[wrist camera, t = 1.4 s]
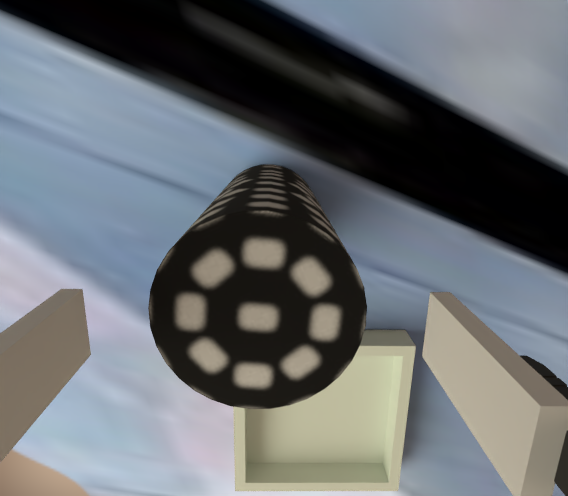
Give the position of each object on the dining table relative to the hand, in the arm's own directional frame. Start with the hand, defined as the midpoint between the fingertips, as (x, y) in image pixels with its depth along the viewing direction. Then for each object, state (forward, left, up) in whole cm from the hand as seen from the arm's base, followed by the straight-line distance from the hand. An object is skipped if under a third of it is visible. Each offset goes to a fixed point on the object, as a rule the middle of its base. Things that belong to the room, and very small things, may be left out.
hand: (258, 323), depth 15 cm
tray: (+19, +5, -20) cm, 28 cm away
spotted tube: (0, 0, -20) cm, 20 cm away
